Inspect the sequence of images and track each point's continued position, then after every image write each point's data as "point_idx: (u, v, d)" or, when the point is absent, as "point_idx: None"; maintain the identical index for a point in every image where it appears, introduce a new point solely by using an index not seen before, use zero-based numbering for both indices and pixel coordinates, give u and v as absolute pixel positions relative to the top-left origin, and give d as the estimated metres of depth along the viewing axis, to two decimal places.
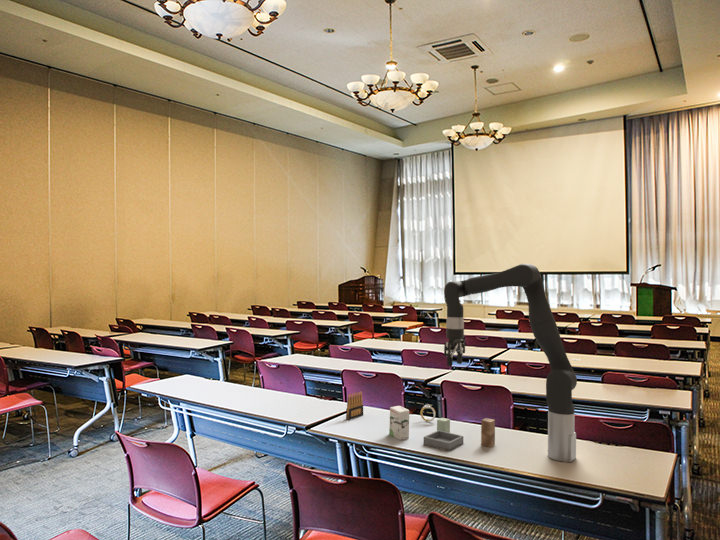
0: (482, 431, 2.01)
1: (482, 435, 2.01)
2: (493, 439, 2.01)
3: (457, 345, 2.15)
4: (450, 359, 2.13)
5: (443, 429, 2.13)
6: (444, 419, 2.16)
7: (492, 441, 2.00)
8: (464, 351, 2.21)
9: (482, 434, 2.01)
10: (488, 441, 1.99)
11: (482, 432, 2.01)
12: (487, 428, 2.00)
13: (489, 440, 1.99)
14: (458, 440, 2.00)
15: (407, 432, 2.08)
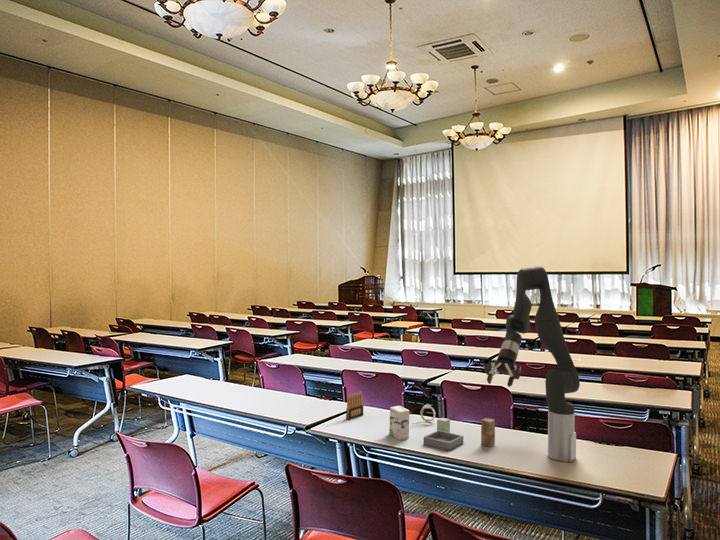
0: (482, 431, 2.01)
1: (482, 435, 2.01)
2: (493, 439, 2.01)
3: (500, 364, 2.14)
4: (488, 375, 2.14)
5: (443, 429, 2.13)
6: (444, 419, 2.16)
7: (492, 441, 2.00)
8: (516, 374, 2.08)
9: (482, 434, 2.01)
10: (488, 441, 1.99)
11: (481, 432, 2.01)
12: (487, 428, 2.00)
13: (489, 440, 1.99)
14: (458, 440, 2.00)
15: (407, 432, 2.08)
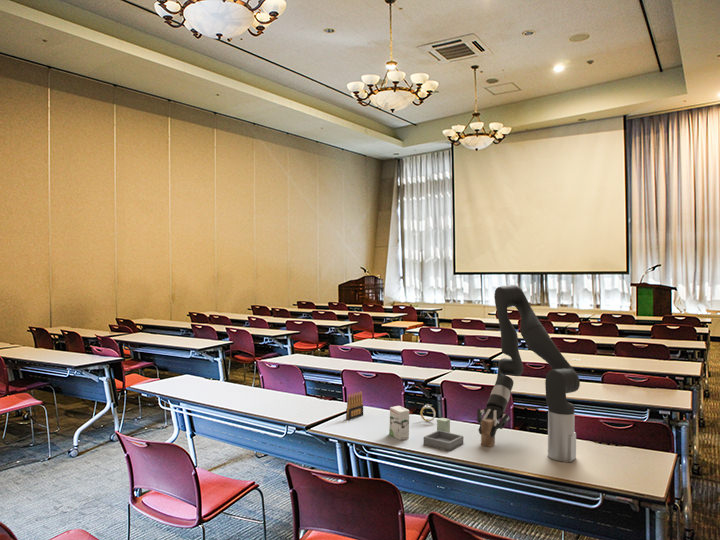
0: (482, 431, 2.01)
1: (482, 435, 2.01)
2: (493, 439, 2.01)
3: (489, 410, 2.05)
4: (480, 425, 2.03)
5: (443, 429, 2.13)
6: (444, 419, 2.16)
7: (492, 440, 2.00)
8: (499, 423, 1.99)
9: (482, 434, 2.01)
10: (488, 441, 1.99)
11: (481, 432, 2.01)
12: (487, 428, 2.00)
13: (489, 440, 1.99)
14: (458, 440, 2.00)
15: (407, 432, 2.08)
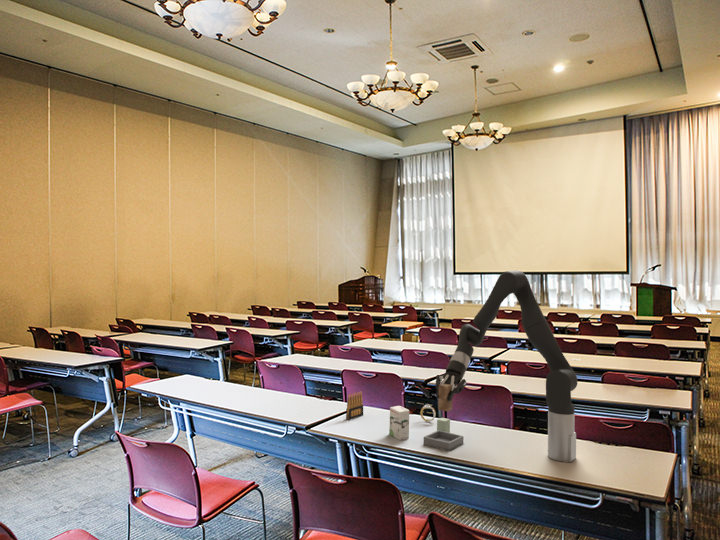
0: (439, 396, 2.02)
1: (439, 400, 2.02)
2: (450, 404, 2.02)
3: (447, 376, 2.06)
4: (438, 390, 2.04)
5: (443, 429, 2.13)
6: (444, 419, 2.16)
7: (449, 405, 2.01)
8: (456, 388, 2.00)
9: (439, 399, 2.02)
10: (445, 405, 2.00)
11: (439, 397, 2.02)
12: (444, 392, 2.01)
13: (446, 404, 2.00)
14: (458, 440, 2.00)
15: (407, 432, 2.08)
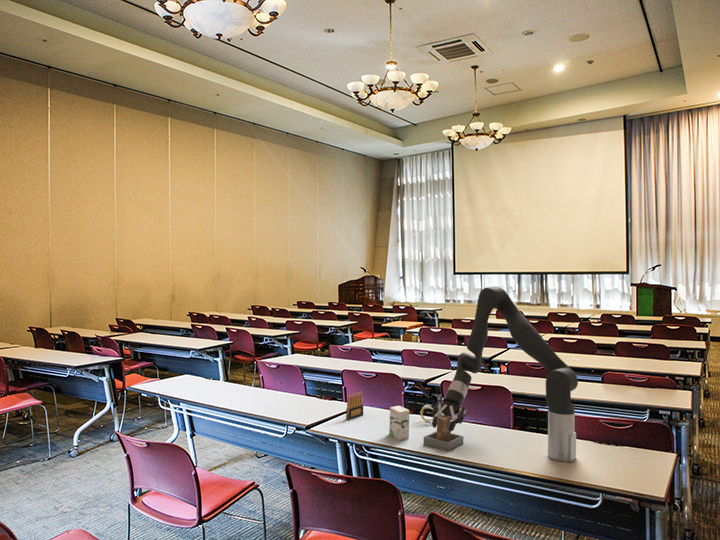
0: (438, 428, 2.02)
1: (438, 432, 2.02)
2: (449, 436, 2.01)
3: (445, 406, 2.06)
4: (434, 419, 2.05)
5: None
6: None
7: (447, 438, 2.01)
8: (458, 418, 1.99)
9: (438, 431, 2.02)
10: (443, 438, 2.00)
11: (437, 430, 2.02)
12: (442, 425, 2.00)
13: (444, 438, 2.00)
14: (458, 440, 2.00)
15: (407, 432, 2.08)
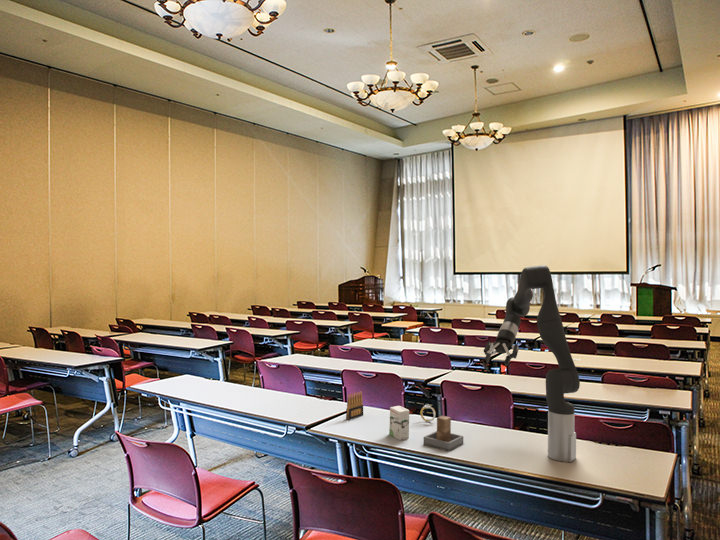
0: (438, 428, 2.02)
1: (438, 432, 2.02)
2: (449, 436, 2.01)
3: (498, 344, 2.19)
4: (486, 355, 2.19)
5: None
6: None
7: (447, 438, 2.01)
8: (513, 353, 2.12)
9: (438, 431, 2.02)
10: (443, 438, 2.00)
11: (437, 430, 2.02)
12: (442, 425, 2.00)
13: (444, 438, 2.00)
14: (458, 440, 2.00)
15: (407, 432, 2.08)
